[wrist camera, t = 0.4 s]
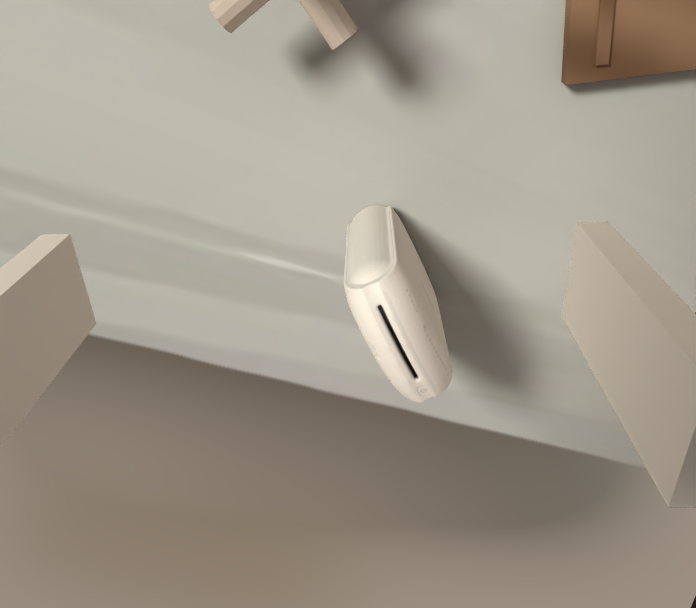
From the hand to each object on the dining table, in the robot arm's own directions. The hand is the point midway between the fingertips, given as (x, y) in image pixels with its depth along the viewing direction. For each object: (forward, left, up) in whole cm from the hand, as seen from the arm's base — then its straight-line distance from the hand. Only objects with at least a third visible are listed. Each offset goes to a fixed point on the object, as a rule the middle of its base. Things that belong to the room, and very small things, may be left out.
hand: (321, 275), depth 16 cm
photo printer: (+13, +2, -28) cm, 31 cm away
